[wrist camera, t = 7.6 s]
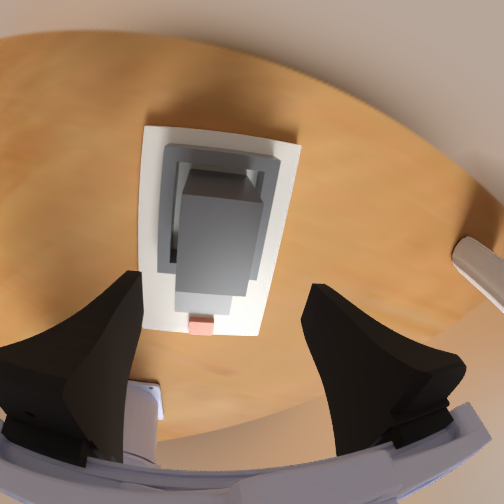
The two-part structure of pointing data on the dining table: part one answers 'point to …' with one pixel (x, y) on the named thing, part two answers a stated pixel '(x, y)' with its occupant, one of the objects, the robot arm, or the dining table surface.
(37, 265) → the dining table surface
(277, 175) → the white flat rectangular base
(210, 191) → the gray block
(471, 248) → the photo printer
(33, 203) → the dining table surface
